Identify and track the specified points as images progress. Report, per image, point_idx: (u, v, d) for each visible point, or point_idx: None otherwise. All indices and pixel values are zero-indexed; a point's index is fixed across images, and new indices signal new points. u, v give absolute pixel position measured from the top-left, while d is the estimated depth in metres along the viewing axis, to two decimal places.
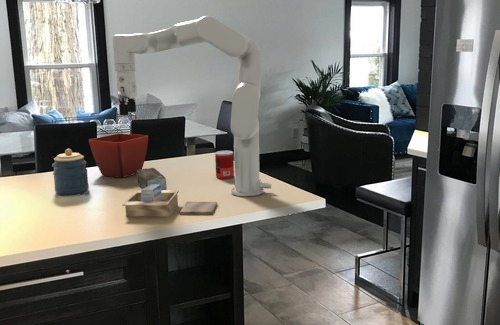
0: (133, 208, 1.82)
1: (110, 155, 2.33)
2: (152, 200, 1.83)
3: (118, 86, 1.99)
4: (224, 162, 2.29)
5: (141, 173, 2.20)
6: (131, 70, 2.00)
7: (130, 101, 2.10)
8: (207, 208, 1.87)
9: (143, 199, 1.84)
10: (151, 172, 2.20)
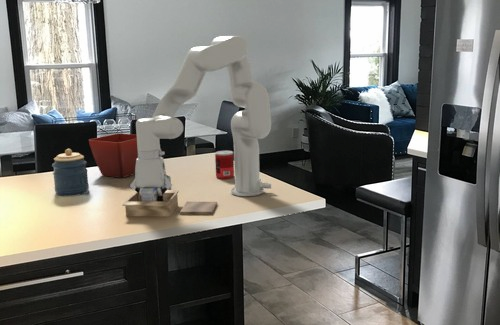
0: (133, 208, 1.82)
1: (110, 155, 2.33)
2: (152, 200, 1.83)
3: (163, 174, 1.84)
4: (224, 162, 2.29)
5: None
6: None
7: None
8: (207, 208, 1.87)
9: (143, 199, 1.84)
10: None
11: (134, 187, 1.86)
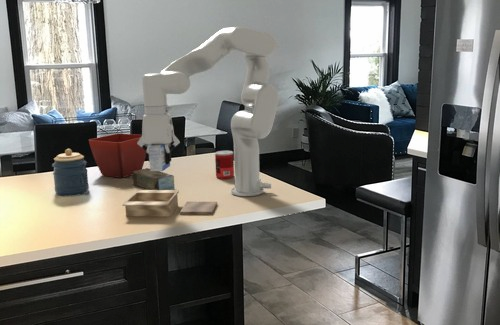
0: (133, 208, 1.82)
1: (110, 155, 2.33)
2: (160, 157, 1.80)
3: (170, 130, 1.81)
4: (224, 162, 2.29)
5: (143, 174, 2.19)
6: None
7: None
8: (207, 208, 1.87)
9: (150, 156, 1.81)
10: (152, 172, 2.20)
11: (141, 144, 1.84)
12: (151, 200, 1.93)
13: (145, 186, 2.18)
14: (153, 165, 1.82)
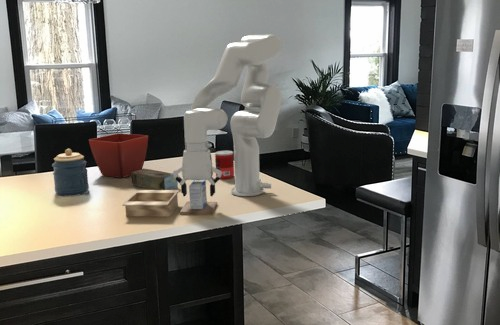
0: (133, 208, 1.82)
1: (110, 155, 2.33)
2: (200, 195, 1.84)
3: (210, 166, 1.84)
4: (224, 162, 2.29)
5: (144, 174, 2.18)
6: None
7: (184, 183, 1.87)
8: (207, 208, 1.87)
9: (191, 194, 1.84)
10: (152, 172, 2.21)
11: (176, 176, 1.86)
12: (151, 200, 1.93)
13: (147, 186, 2.18)
14: (193, 203, 1.85)
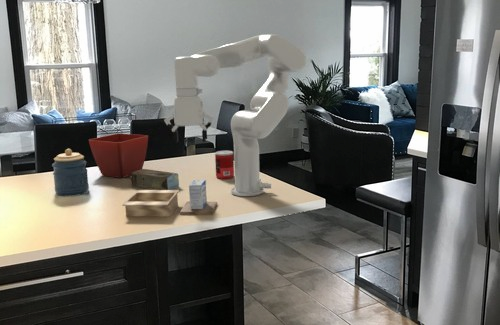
0: (133, 208, 1.82)
1: (110, 155, 2.33)
2: (200, 195, 1.84)
3: (202, 111, 1.86)
4: (224, 162, 2.29)
5: (145, 174, 2.18)
6: None
7: (176, 130, 1.89)
8: (207, 208, 1.87)
9: (191, 194, 1.84)
10: (153, 172, 2.21)
11: (167, 122, 1.88)
12: (151, 200, 1.93)
13: (149, 186, 2.18)
14: (193, 203, 1.85)
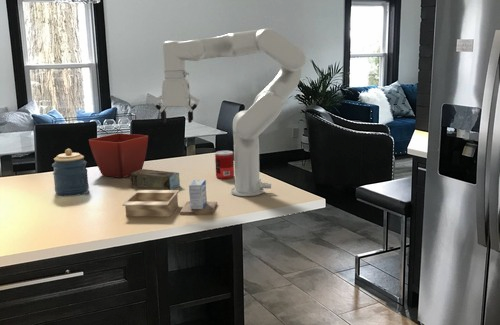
0: (133, 208, 1.82)
1: (110, 155, 2.33)
2: (200, 195, 1.84)
3: (188, 93, 1.96)
4: (224, 162, 2.29)
5: (145, 174, 2.18)
6: None
7: (164, 111, 2.00)
8: (207, 208, 1.87)
9: (191, 194, 1.84)
10: (153, 172, 2.21)
11: (156, 103, 1.99)
12: (151, 200, 1.93)
13: (150, 186, 2.18)
14: (193, 203, 1.85)
